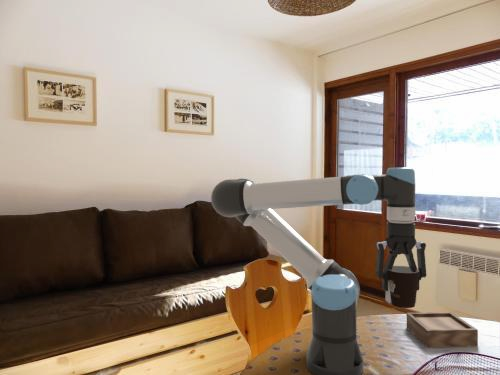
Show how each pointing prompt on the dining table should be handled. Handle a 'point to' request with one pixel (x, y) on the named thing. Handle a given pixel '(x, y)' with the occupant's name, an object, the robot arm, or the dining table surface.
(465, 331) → the wooden tray
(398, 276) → the coffee mug
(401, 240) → the robot arm
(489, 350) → the dining table surface
